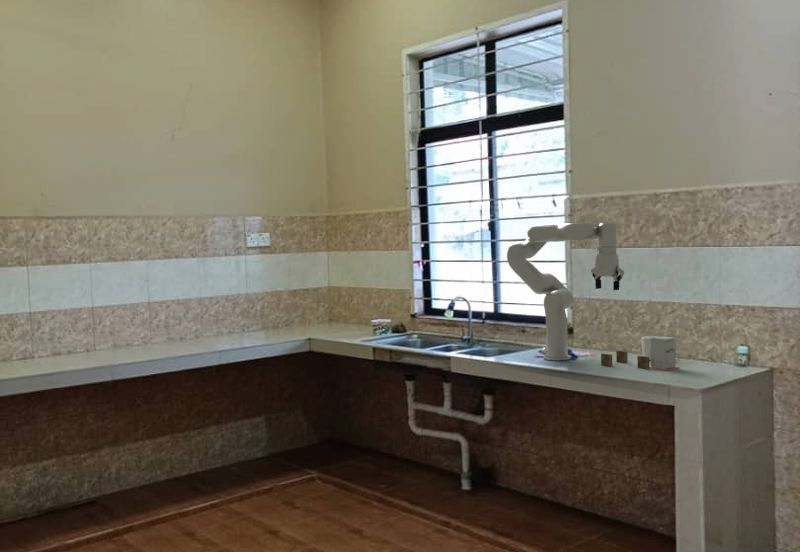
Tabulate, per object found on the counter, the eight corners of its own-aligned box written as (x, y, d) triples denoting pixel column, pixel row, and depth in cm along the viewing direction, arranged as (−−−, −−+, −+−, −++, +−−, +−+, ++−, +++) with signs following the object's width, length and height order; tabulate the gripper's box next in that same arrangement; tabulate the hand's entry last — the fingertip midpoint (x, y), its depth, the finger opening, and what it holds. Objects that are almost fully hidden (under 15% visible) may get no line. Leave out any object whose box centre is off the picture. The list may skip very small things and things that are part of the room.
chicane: (601, 365, 331) (601, 353, 331) (625, 359, 342) (625, 348, 341) (640, 370, 316) (640, 358, 315) (664, 365, 326) (664, 353, 325)
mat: (647, 368, 320) (647, 367, 320) (660, 365, 326) (660, 364, 326) (666, 371, 313) (666, 370, 313) (679, 368, 319) (679, 367, 318)
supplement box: (665, 369, 314) (665, 339, 313) (650, 367, 320) (649, 337, 320) (676, 367, 318) (676, 337, 318) (661, 365, 324) (661, 335, 324)
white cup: (662, 360, 337) (661, 338, 337) (644, 360, 338) (643, 338, 337) (657, 357, 345) (656, 335, 345) (639, 357, 346) (639, 336, 345)
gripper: (586, 250, 340) (586, 288, 341) (618, 251, 326) (618, 291, 327) (597, 249, 344) (596, 287, 345) (629, 250, 330) (628, 290, 331)
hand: (607, 289), depth 336 cm, fingers open, 9 cm apart
